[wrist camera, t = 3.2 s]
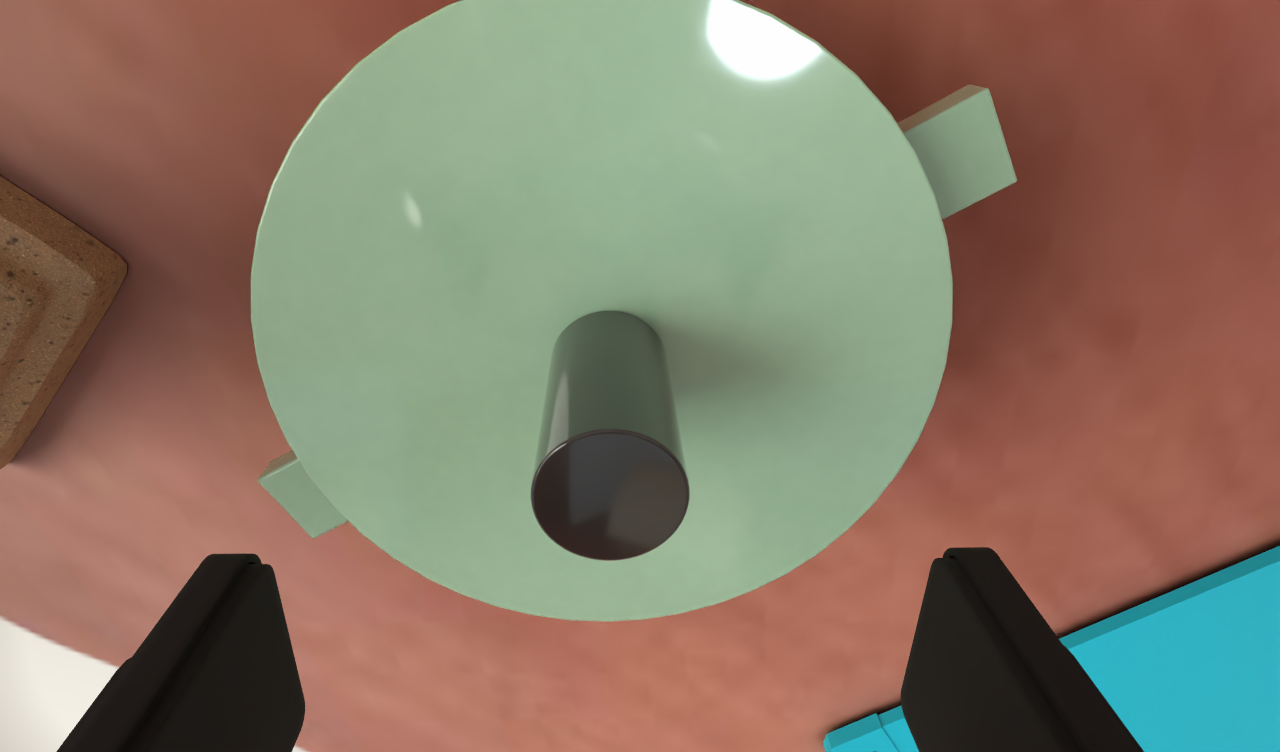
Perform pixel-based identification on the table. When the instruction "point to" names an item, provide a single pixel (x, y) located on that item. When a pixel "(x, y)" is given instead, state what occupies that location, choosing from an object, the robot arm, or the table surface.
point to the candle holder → (44, 307)
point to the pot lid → (601, 301)
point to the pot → (953, 162)
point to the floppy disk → (1167, 668)
